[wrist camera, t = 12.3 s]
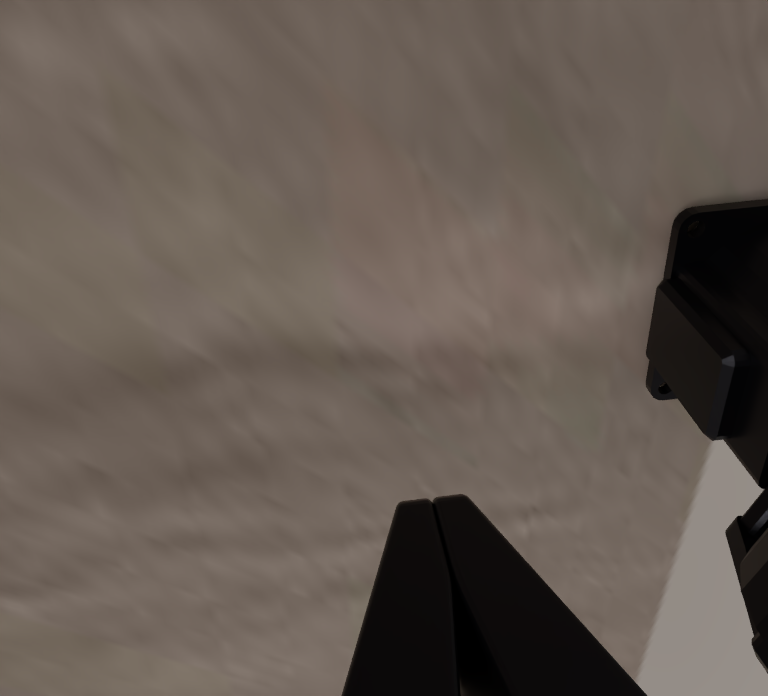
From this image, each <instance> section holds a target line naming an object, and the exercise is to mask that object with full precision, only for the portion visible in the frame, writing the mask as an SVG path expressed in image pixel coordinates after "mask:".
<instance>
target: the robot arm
mask: <svg viewBox="0 0 768 696" xmlns="http://www.w3.org/2000/svg"><path fill="white" fill-rule="evenodd" d="M696 221H698V225H697V227H696V228H695V229H694V230H693V231H690V232H687V230H688V227H689V226H690V225H691V224H692V223H693V222H696ZM646 356H647V357H648V359H649V366H648V372H647V378H646V387H647V389H648V390H649V392H650V393H651V395H652V396H653V398H655V399H657V400H669V399H677V398H678V400H679V401H680V402H681V404H682V405H683V406H684V408H685V409H686V410H687V412H688V413H689V415H690V416H691V417H692V419H693V420H694V421H695V423H696V424H697V425H698V427H699V428H700V430H701V431H702V432H703V434H705V435H706V436H707V437H708V438H710V439H711V440H712V441H714V440H722V439H723V440H724V441H725V442H726V444H727V445H728V446H729V447H730V449H731V450H732V451H733V453H734V454H735V455H736V457H737V458H738V459H739V461H740V462H741V463H742V465H743V466H744V467H745V468H746V470H747V471H748V472H749V474H750V475H751V476H752V477H753V479H754V480H755V482H756V483H757V484H758V486H759V487H761V488H762V489H764V491H763V492H762V493H761V494H760V496H759V497H758V498H757V499H756V500H755V502H754V503H753V504H752V505H751V507H750V508H749V509H748V510H747V511H746V513H745V514H744V515H743V516H737V517H736V519H735V520H734V521H733V522H732V524H731V525H730V526H729V527H728V528H727V530H726V537H727V540H728V544H729V547H730V551H731V555H732V558H733V562H734V566H735V569H736V573H737V576H738V580H739V583H740V587H741V592H742V595H743V598H744V601H745V605H746V608H747V612H748V615H749V619H750V623H751V627H752V630H753V634H754V637H753V638H752V646H753V649H754V652H755V654H756V657H757V659H758V660H759V661H760V663H761V664H762V665H763V667H764V668H765V670H766V672H767V673H768V199H764V200H755V201H745V202H736V203H726V204H717V205H707V206H698V207H691V208H688V209H685V210H684V211H682V212H681V213H679V214H678V216H677V217H676V218H675V220H674V222H673V225H672V231H671V237H670V242H669V248H668V254H667V260H666V266H665V272H664V278H663V280H662V281H661V283H660V284H659V285H658V287H657V289H656V295H655V301H654V307H653V313H652V319H651V325H650V331H649V337H648V343H647V349H646ZM663 382H666V384H665V385H664V386H661V387H659V386H660V385H661V384H662V383H663ZM342 696H647V695H646V694H645V693H644V691H643V690H642V689H641V688H640V687H639V686H638V685H637V684H636V683H635V681H634V680H633V679H632V678H631V677H630V676H629V675H628V674H627V673H626V671H625V670H624V669H623V668H622V667H621V666H620V665H619V664H618V663H617V661H616V660H615V659H614V658H613V657H612V656H611V655H610V654H609V653H608V652H607V650H606V649H605V648H604V647H603V646H602V645H601V644H600V643H599V642H598V640H597V639H596V638H595V637H594V636H593V635H592V634H591V633H590V632H589V630H588V629H587V628H586V627H585V626H584V625H583V624H582V623H581V622H580V620H579V619H578V618H577V617H576V616H575V615H574V614H573V613H572V612H571V610H570V609H569V608H568V607H567V606H566V605H565V604H564V603H563V602H562V600H561V599H560V598H559V597H558V596H557V595H556V594H555V593H554V592H553V590H552V589H551V588H550V587H549V586H548V585H547V584H546V583H545V582H544V580H543V579H542V578H541V577H540V576H539V575H538V574H537V573H536V572H535V570H534V569H533V568H532V567H531V566H530V565H529V564H528V563H527V562H526V561H525V559H524V558H523V557H522V556H521V555H520V554H519V553H518V552H517V551H516V549H515V548H514V547H513V546H512V545H511V544H510V543H509V542H508V541H507V539H506V538H505V537H504V536H503V535H502V534H501V533H500V532H499V531H498V529H497V528H496V527H495V526H494V525H493V524H492V523H491V522H490V521H489V519H488V518H487V517H486V516H485V515H484V514H483V513H482V512H481V511H480V509H479V508H478V507H477V506H476V505H475V504H474V503H473V502H472V501H471V500H470V499H469V498H468V497H467V496H466V495H463V494H458V495H449V496H441V497H436V498H435V499H434V500H433V502H431V501H430V500H429V499H417V500H409V501H402V502H400V503H399V504H398V505H397V507H396V510H395V513H394V517H393V520H392V524H391V527H390V530H389V534H388V537H387V541H386V544H385V548H384V551H383V555H382V558H381V561H380V565H379V568H378V572H377V575H376V579H375V582H374V586H373V589H372V593H371V596H370V599H369V603H368V606H367V610H366V613H365V617H364V620H363V624H362V627H361V631H360V634H359V637H358V641H357V644H356V648H355V651H354V655H353V658H352V662H351V665H350V668H349V672H348V675H347V679H346V682H345V686H344V689H343V693H342Z"/></svg>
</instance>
